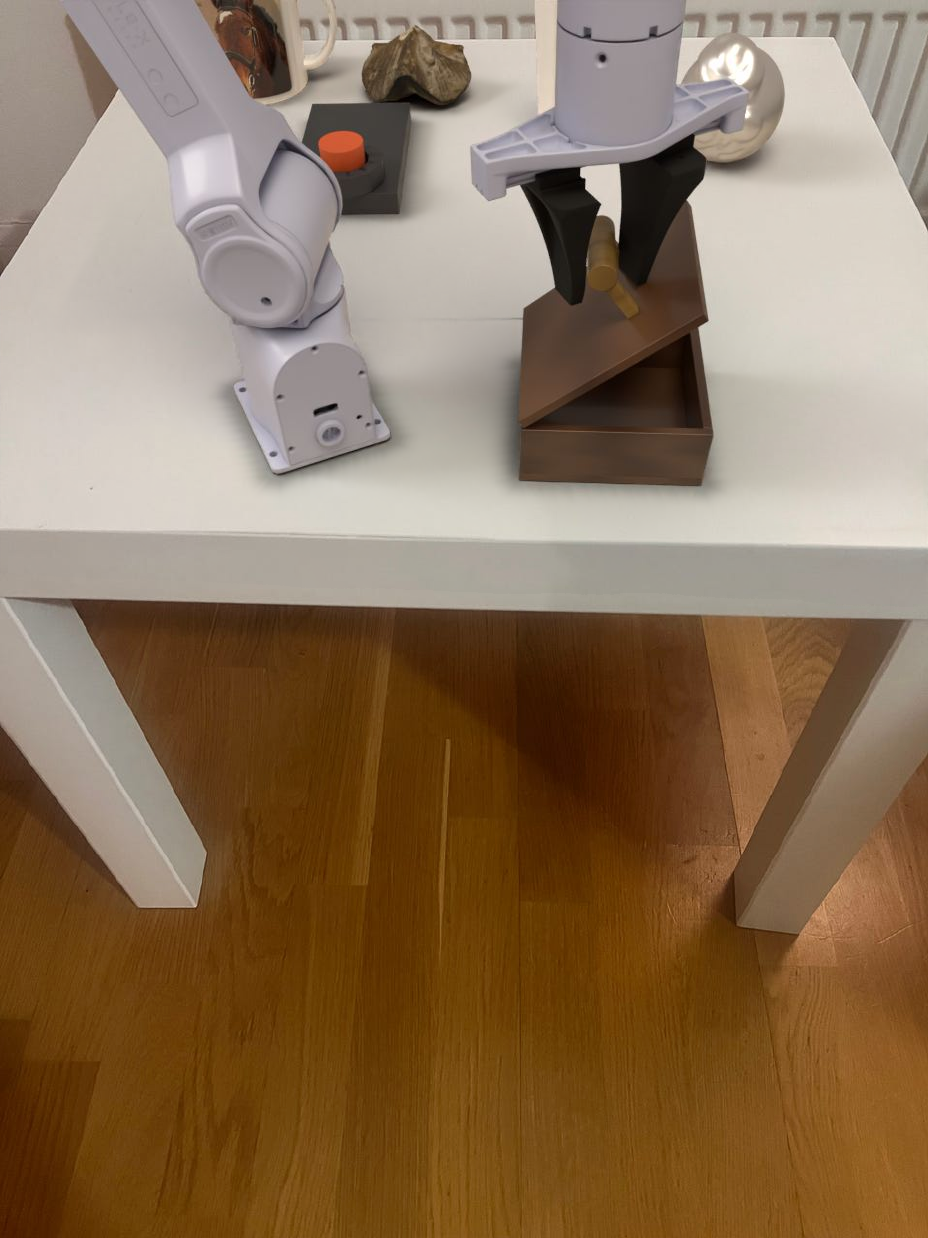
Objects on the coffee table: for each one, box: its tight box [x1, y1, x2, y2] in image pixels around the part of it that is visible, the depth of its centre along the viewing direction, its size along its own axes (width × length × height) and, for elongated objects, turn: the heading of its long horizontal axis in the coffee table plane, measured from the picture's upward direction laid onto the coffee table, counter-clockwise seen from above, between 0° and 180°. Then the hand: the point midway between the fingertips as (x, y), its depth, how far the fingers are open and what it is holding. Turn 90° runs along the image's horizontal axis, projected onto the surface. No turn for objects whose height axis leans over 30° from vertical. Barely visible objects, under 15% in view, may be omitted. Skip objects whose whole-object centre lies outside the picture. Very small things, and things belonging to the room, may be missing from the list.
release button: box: [319, 131, 365, 172], centre depth 76 cm, size 4×4×2 cm
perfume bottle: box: [534, 0, 557, 116], centre depth 78 cm, size 5×4×15 cm
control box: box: [301, 102, 412, 216], centre depth 81 cm, size 17×9×4 cm, turn 178°
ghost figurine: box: [680, 32, 786, 164], centre depth 78 cm, size 9×10×10 cm
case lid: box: [517, 199, 709, 428], centre depth 54 cm, size 12×11×4 cm
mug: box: [194, 0, 338, 106], centre depth 88 cm, size 10×12×11 cm
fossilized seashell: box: [361, 24, 472, 106], centre depth 88 cm, size 8×7×10 cm
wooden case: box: [518, 327, 714, 486], centre depth 60 cm, size 11×11×4 cm
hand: (600, 285), depth 53 cm, fingers closed on case lid, 3 cm apart
